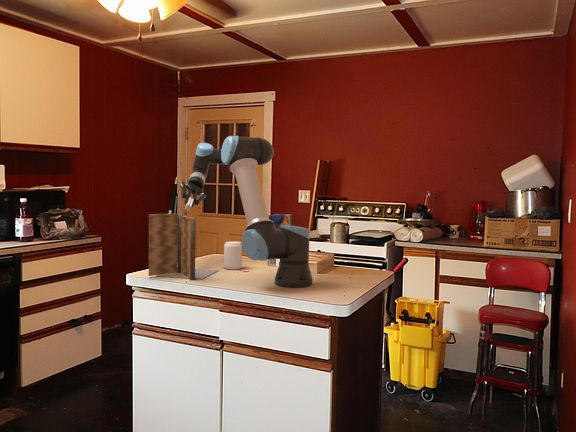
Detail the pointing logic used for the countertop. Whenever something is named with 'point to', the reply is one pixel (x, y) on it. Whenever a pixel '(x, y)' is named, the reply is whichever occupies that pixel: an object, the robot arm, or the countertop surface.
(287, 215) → the juice carton
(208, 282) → the countertop surface
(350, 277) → the countertop surface
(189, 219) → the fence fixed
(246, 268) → the countertop surface
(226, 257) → the beverage can
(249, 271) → the countertop surface
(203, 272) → the card
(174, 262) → the brown wooden board
